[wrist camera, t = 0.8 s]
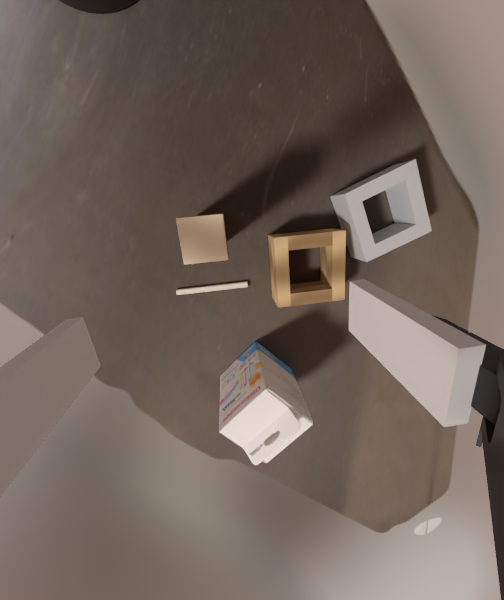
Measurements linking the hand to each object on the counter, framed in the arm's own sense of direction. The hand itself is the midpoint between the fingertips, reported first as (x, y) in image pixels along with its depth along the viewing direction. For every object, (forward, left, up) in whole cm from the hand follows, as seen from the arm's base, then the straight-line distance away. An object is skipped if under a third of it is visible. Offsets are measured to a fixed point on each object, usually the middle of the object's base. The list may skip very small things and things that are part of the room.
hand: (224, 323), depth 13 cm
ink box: (+20, +3, -25) cm, 32 cm away
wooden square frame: (+3, +11, -24) cm, 27 cm away
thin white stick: (+5, -2, -24) cm, 25 cm away
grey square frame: (-3, +21, -24) cm, 32 cm away
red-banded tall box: (-3, -1, -24) cm, 25 cm away
